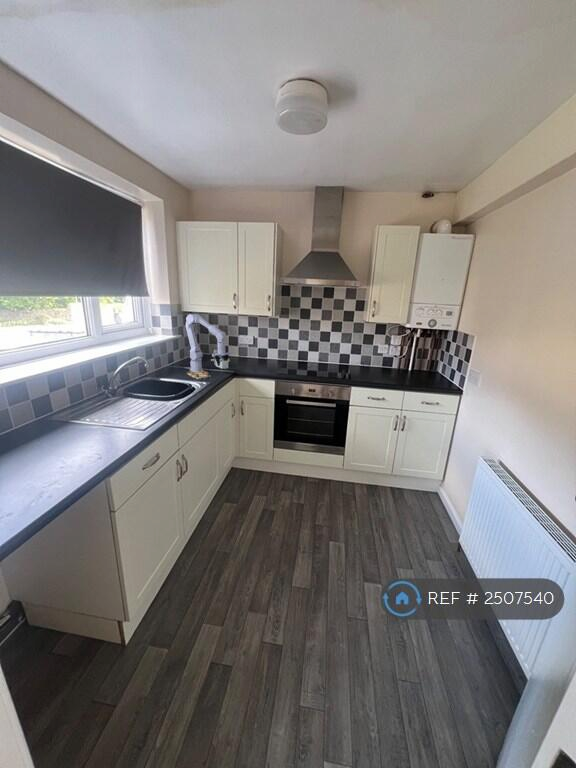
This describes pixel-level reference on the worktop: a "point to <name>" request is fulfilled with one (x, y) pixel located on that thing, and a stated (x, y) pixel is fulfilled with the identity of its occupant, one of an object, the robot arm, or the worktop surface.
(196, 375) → the cradle jig
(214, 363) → the toy figure
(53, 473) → the worktop surface
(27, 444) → the worktop surface
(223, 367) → the block
